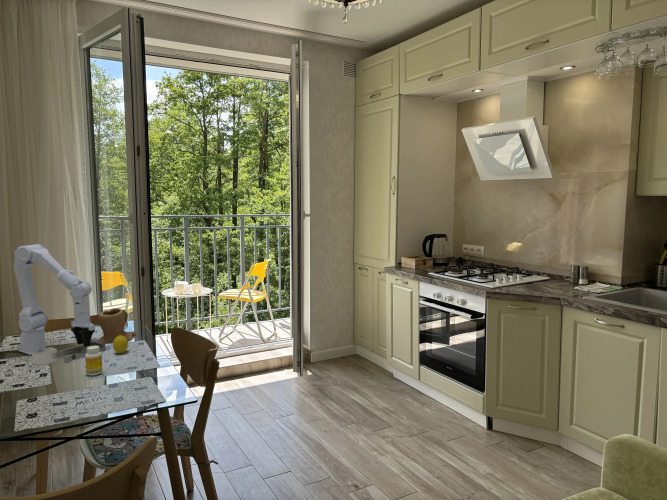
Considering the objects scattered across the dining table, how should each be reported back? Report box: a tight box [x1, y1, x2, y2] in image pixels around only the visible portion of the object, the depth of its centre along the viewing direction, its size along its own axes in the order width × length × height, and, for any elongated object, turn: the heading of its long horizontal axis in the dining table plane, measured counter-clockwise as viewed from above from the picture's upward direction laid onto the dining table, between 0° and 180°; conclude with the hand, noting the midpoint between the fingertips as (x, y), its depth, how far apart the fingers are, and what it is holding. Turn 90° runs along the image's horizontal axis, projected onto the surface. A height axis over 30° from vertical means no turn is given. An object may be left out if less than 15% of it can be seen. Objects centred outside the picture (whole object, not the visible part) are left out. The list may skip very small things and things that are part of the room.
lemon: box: [112, 335, 129, 354], centre depth 195 cm, size 6×6×8 cm
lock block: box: [31, 346, 58, 367], centre depth 185 cm, size 4×7×5 cm, turn 147°
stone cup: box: [97, 307, 136, 345], centre depth 211 cm, size 15×12×15 cm
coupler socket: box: [57, 338, 107, 364], centre depth 195 cm, size 13×17×4 cm
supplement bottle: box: [84, 346, 103, 376], centre depth 173 cm, size 5×5×10 cm
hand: (83, 344), depth 196 cm, fingers open, 4 cm apart
